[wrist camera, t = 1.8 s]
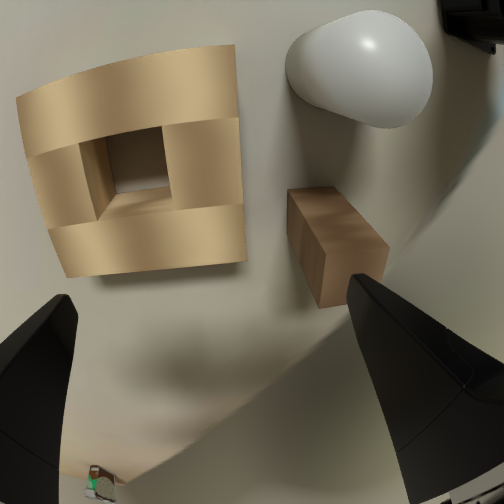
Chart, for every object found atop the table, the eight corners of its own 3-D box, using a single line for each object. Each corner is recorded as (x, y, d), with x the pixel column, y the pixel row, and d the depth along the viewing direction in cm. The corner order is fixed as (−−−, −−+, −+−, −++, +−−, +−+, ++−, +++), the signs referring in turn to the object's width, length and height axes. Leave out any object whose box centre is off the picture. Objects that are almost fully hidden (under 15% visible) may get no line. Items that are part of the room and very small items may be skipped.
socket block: (230, 52, 14) (234, 44, 11) (241, 228, 21) (246, 260, 18) (49, 90, 13) (15, 97, 10) (85, 246, 20) (67, 278, 17)
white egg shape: (365, 35, 14) (432, 26, 8) (365, 111, 17) (429, 133, 11) (283, 26, 14) (322, 0, 8) (286, 108, 17) (325, 125, 11)
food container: (77, 460, 51) (74, 492, 43) (96, 464, 52) (93, 496, 43) (99, 473, 58) (98, 502, 50) (117, 476, 58) (116, 505, 50)
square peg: (334, 186, 20) (389, 247, 13) (330, 229, 22) (375, 299, 15) (287, 189, 20) (326, 254, 13) (286, 232, 22) (319, 308, 15)
